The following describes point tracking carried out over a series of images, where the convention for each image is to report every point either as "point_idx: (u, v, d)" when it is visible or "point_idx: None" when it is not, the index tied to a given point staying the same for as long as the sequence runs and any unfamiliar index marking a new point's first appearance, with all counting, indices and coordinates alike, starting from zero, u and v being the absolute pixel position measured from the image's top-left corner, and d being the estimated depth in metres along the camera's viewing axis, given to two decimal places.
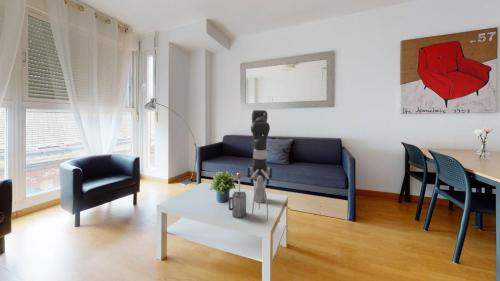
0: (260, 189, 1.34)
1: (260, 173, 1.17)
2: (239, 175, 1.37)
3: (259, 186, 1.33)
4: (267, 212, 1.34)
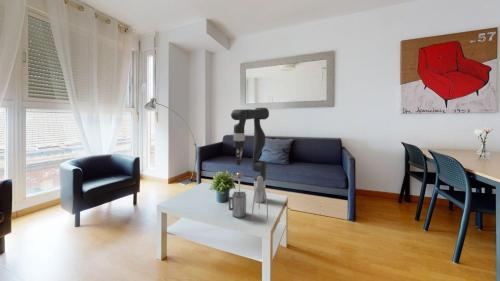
0: (260, 189, 1.34)
1: (240, 153, 1.38)
2: (239, 175, 1.37)
3: (259, 186, 1.33)
4: (267, 212, 1.34)
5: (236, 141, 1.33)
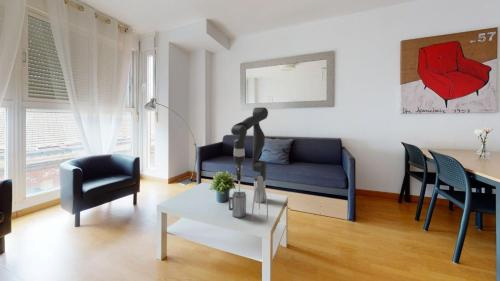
0: (260, 189, 1.34)
1: None
2: None
3: (259, 186, 1.33)
4: (267, 212, 1.34)
5: (236, 156, 1.34)
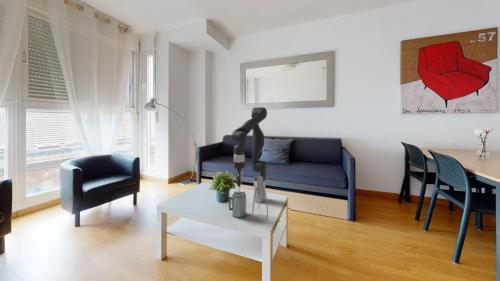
0: (260, 189, 1.34)
1: None
2: None
3: (259, 186, 1.33)
4: (267, 212, 1.34)
5: (236, 162, 1.35)
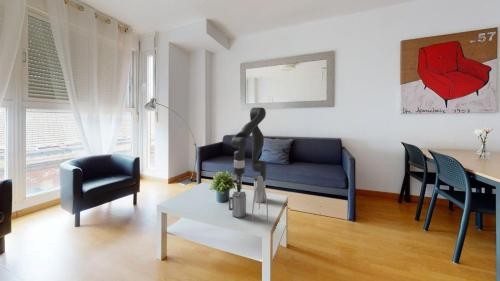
0: (260, 189, 1.34)
1: None
2: None
3: (259, 186, 1.33)
4: (267, 212, 1.34)
5: (236, 168, 1.35)
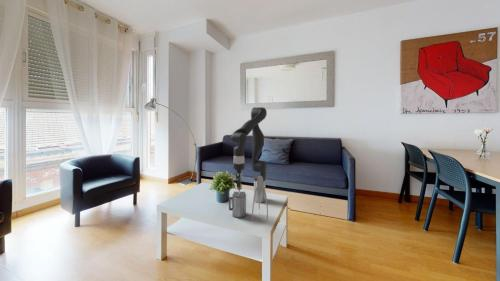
0: (260, 189, 1.34)
1: None
2: None
3: (259, 186, 1.33)
4: (267, 212, 1.34)
5: (236, 164, 1.35)
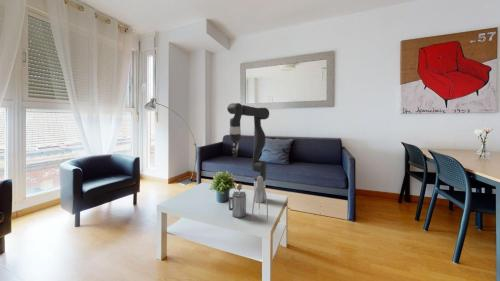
0: (260, 189, 1.34)
1: (236, 146, 1.39)
2: (239, 186, 1.38)
3: (259, 186, 1.33)
4: (267, 212, 1.34)
5: (232, 134, 1.34)
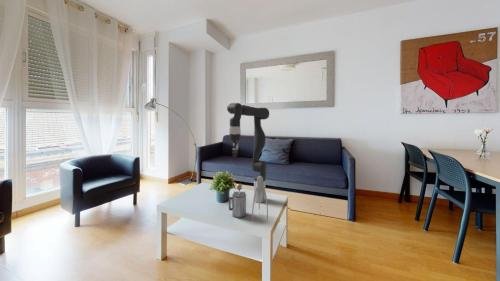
0: (260, 189, 1.34)
1: (236, 146, 1.39)
2: (239, 186, 1.38)
3: (259, 186, 1.33)
4: (267, 212, 1.34)
5: (232, 134, 1.34)
